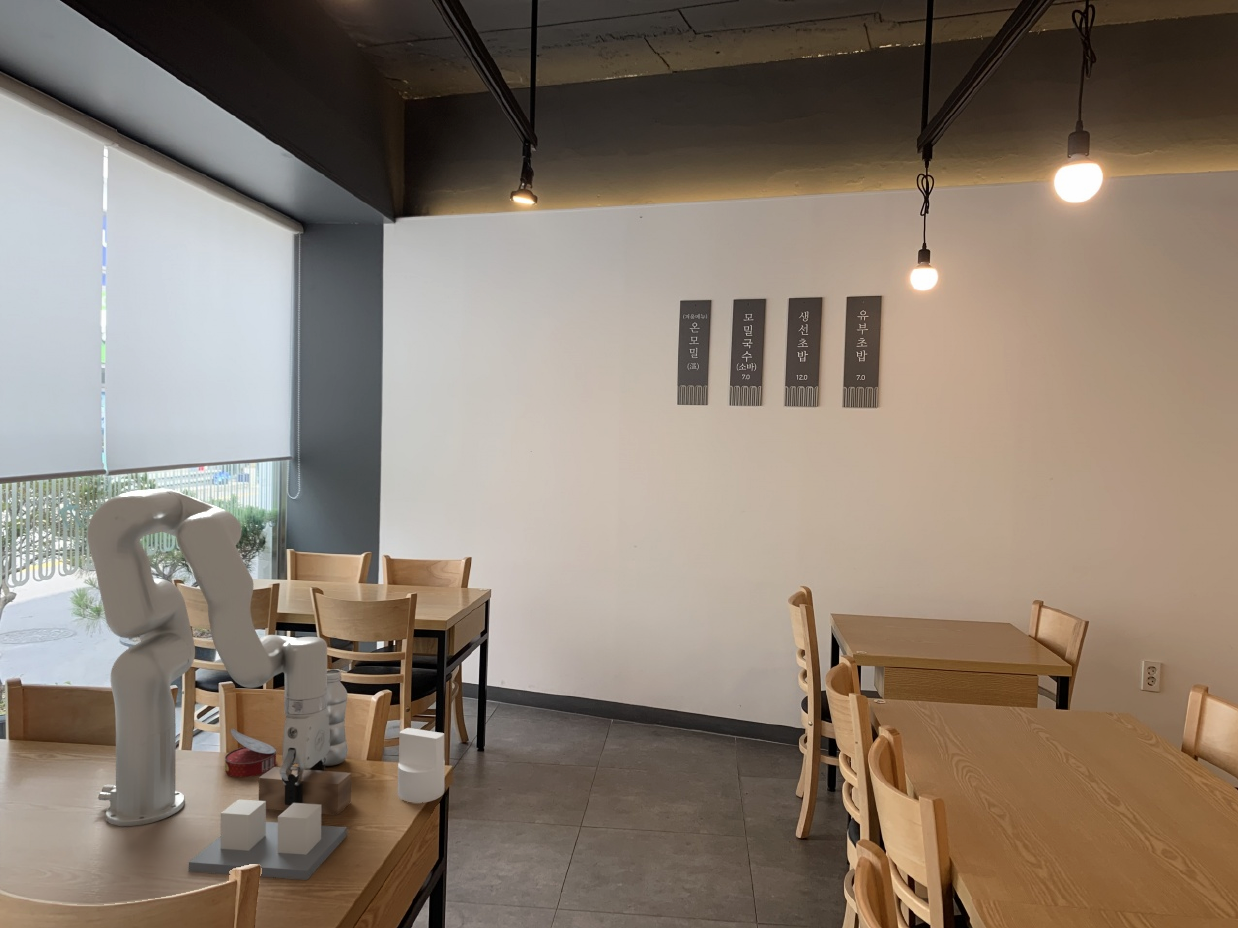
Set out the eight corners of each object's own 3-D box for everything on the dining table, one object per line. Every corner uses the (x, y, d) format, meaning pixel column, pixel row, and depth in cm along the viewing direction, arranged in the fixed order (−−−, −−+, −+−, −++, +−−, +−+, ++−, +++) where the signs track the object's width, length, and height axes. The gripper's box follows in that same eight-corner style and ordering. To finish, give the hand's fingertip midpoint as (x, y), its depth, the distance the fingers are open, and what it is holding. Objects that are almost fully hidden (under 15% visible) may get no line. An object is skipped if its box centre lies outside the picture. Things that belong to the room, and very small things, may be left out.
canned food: (239, 781, 167) (249, 733, 172) (282, 780, 166) (290, 731, 170) (206, 777, 157) (217, 726, 162) (251, 775, 156) (261, 724, 160)
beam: (258, 808, 145) (258, 777, 145) (274, 796, 150) (274, 766, 150) (337, 815, 143) (338, 784, 143) (350, 803, 148) (351, 772, 148)
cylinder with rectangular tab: (452, 786, 156) (453, 728, 155) (428, 806, 147) (428, 744, 147) (414, 779, 159) (415, 722, 158) (388, 798, 150) (388, 737, 150)
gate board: (188, 871, 124) (188, 825, 123) (239, 828, 137) (239, 786, 137) (307, 879, 122) (307, 833, 121) (346, 835, 136) (347, 793, 135)
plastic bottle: (352, 757, 169) (353, 667, 169) (338, 770, 162) (339, 676, 162) (324, 756, 170) (325, 666, 169) (309, 768, 163) (310, 675, 163)
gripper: (301, 720, 137) (300, 817, 138) (345, 689, 155) (344, 776, 155) (261, 718, 138) (261, 814, 138) (309, 688, 155) (309, 774, 156)
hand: (305, 793), depth 147 cm, fingers open, 7 cm apart
